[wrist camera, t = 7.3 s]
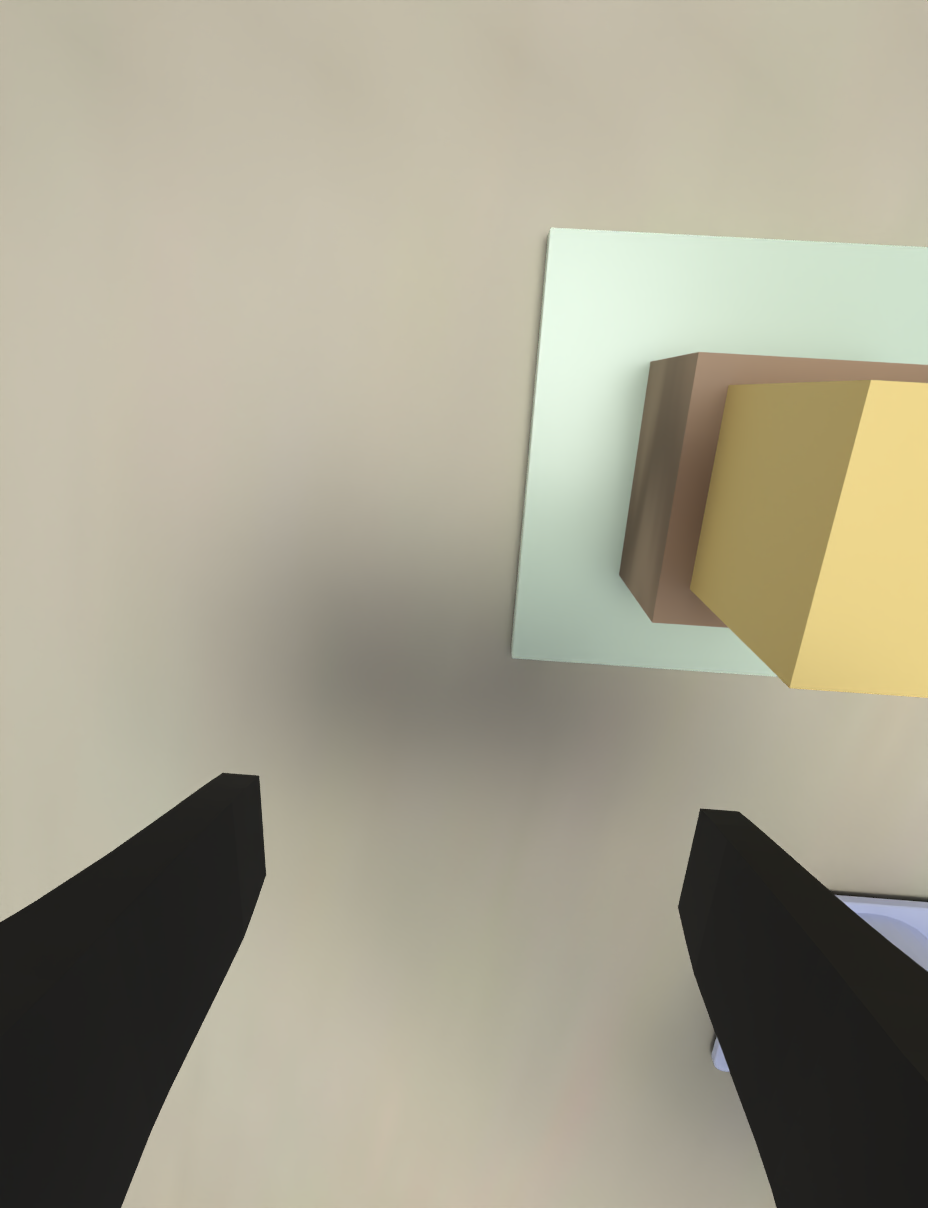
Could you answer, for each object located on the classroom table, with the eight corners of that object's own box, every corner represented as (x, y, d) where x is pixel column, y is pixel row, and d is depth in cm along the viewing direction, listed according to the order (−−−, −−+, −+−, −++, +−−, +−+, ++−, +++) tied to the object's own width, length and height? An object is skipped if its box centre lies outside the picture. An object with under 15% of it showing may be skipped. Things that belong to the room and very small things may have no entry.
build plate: (876, 673, 20) (891, 684, 19) (511, 648, 20) (511, 658, 19) (1007, 259, 16) (1033, 252, 15) (547, 235, 16) (550, 227, 15)
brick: (884, 602, 14) (1084, 708, 9) (690, 589, 14) (789, 688, 9) (947, 397, 12) (1225, 400, 8) (728, 385, 13) (871, 380, 8)
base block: (819, 588, 18) (905, 639, 14) (618, 574, 18) (652, 622, 14) (876, 374, 16) (995, 368, 12) (650, 361, 16) (698, 351, 12)
